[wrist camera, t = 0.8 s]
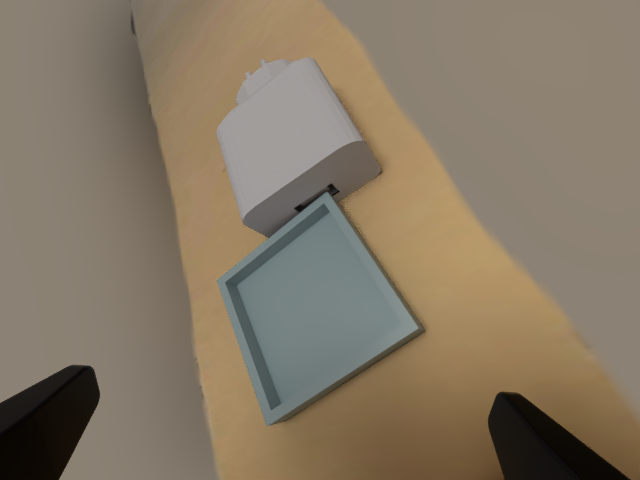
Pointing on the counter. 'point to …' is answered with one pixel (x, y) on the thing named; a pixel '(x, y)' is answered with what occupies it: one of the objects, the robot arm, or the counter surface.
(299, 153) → the charger
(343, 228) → the tray
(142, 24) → the counter surface
